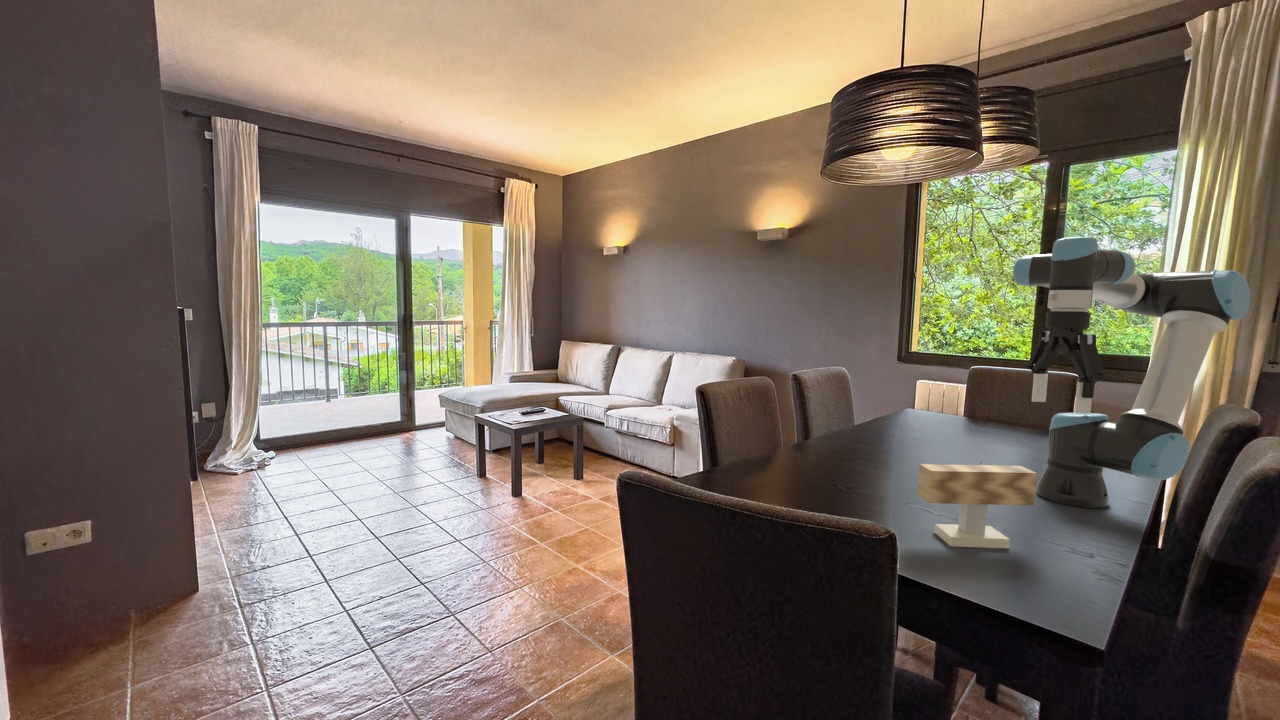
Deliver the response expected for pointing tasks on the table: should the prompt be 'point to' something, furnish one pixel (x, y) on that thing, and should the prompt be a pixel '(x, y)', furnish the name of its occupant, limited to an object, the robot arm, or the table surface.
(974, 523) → the stand
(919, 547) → the table surface
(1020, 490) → the batten
